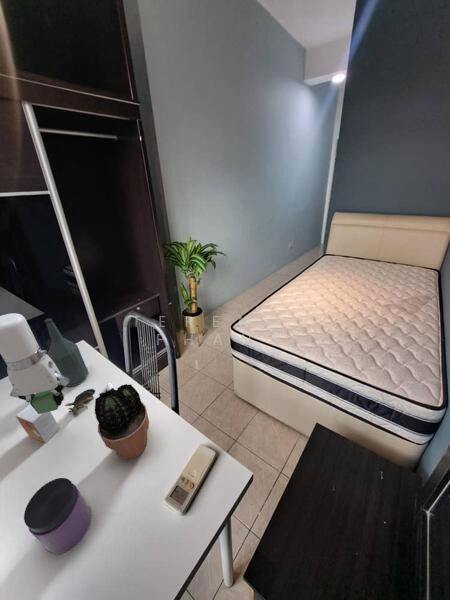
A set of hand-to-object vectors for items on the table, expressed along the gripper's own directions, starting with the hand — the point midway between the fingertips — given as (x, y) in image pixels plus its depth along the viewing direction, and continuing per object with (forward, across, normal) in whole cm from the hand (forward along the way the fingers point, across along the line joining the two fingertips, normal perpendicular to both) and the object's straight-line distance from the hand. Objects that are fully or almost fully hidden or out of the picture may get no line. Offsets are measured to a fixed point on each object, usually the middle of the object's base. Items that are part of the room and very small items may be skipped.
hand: (49, 404), depth 74 cm
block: (+1, 0, 0) cm, 1 cm away
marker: (+16, -14, -12) cm, 25 cm away
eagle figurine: (+17, -3, -12) cm, 21 cm away
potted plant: (+16, -21, +10) cm, 28 cm away
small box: (+17, +8, -5) cm, 19 cm away
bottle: (+17, +3, -29) cm, 34 cm away
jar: (+16, -6, +26) cm, 31 cm away
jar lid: (+4, -6, +26) cm, 27 cm away
